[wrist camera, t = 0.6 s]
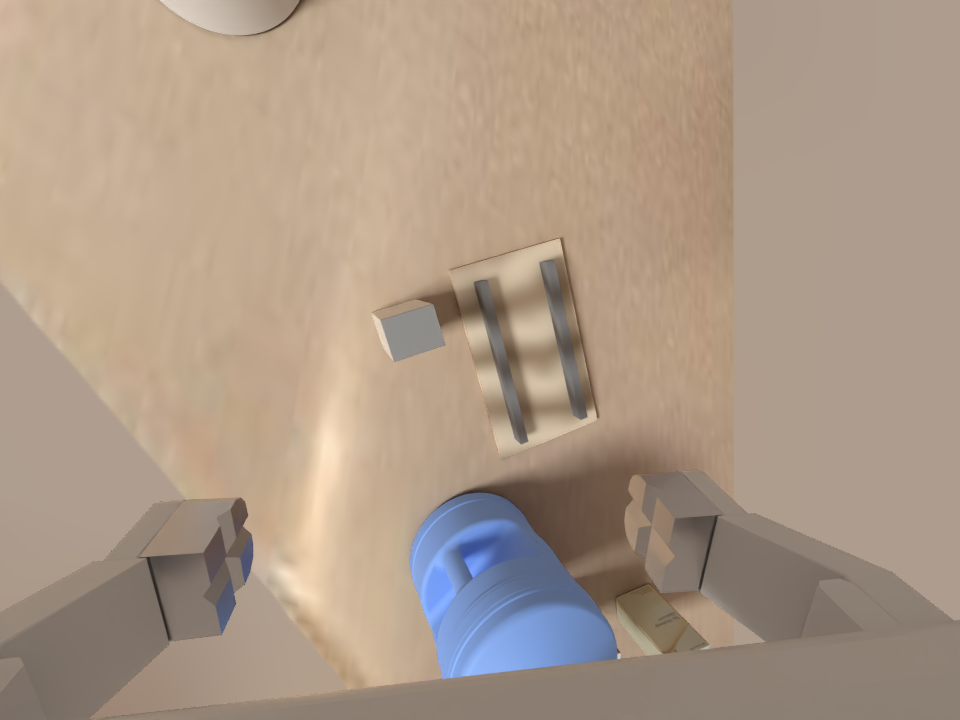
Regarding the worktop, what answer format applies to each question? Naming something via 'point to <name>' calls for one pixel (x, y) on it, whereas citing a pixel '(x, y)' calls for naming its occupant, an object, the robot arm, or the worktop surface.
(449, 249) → the worktop surface
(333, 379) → the worktop surface
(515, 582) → the water jug
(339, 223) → the worktop surface
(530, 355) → the rail board
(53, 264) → the worktop surface
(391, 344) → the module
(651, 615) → the skincare box
